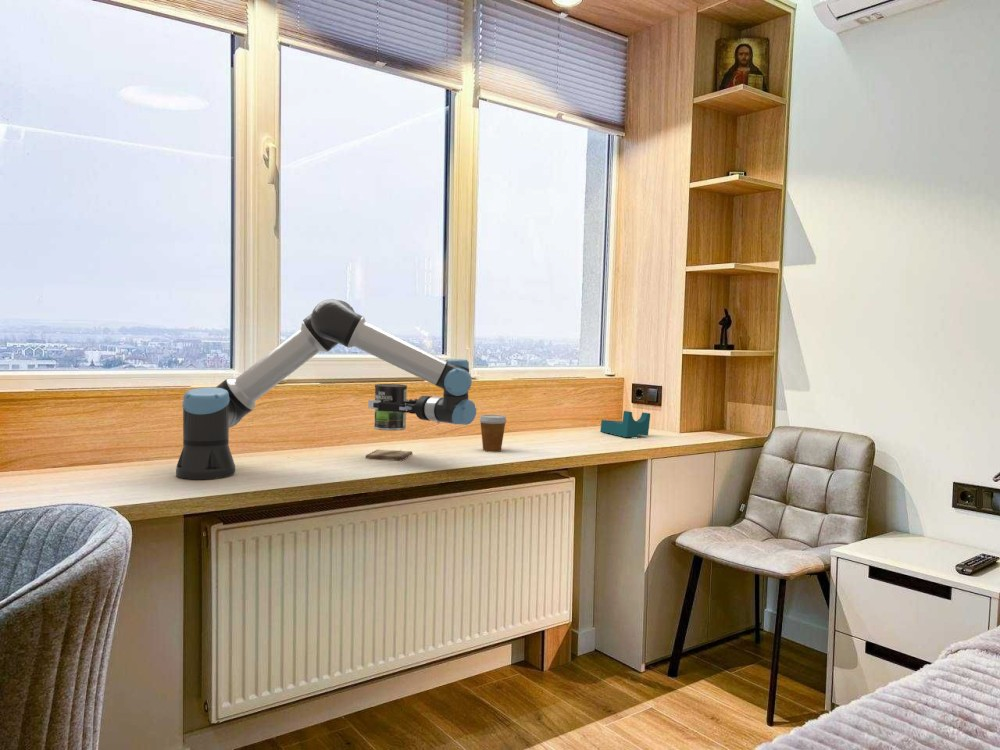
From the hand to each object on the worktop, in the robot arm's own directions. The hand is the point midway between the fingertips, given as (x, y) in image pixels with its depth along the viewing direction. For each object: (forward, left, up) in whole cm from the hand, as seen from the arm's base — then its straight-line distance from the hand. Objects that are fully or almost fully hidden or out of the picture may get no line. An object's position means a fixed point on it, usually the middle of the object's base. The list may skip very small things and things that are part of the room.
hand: (381, 402), depth 243 cm
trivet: (+4, -2, -17) cm, 18 cm away
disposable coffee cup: (+34, +21, -17) cm, 43 cm away
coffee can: (+4, -2, -8) cm, 9 cm away
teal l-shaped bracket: (+80, +78, -17) cm, 113 cm away
